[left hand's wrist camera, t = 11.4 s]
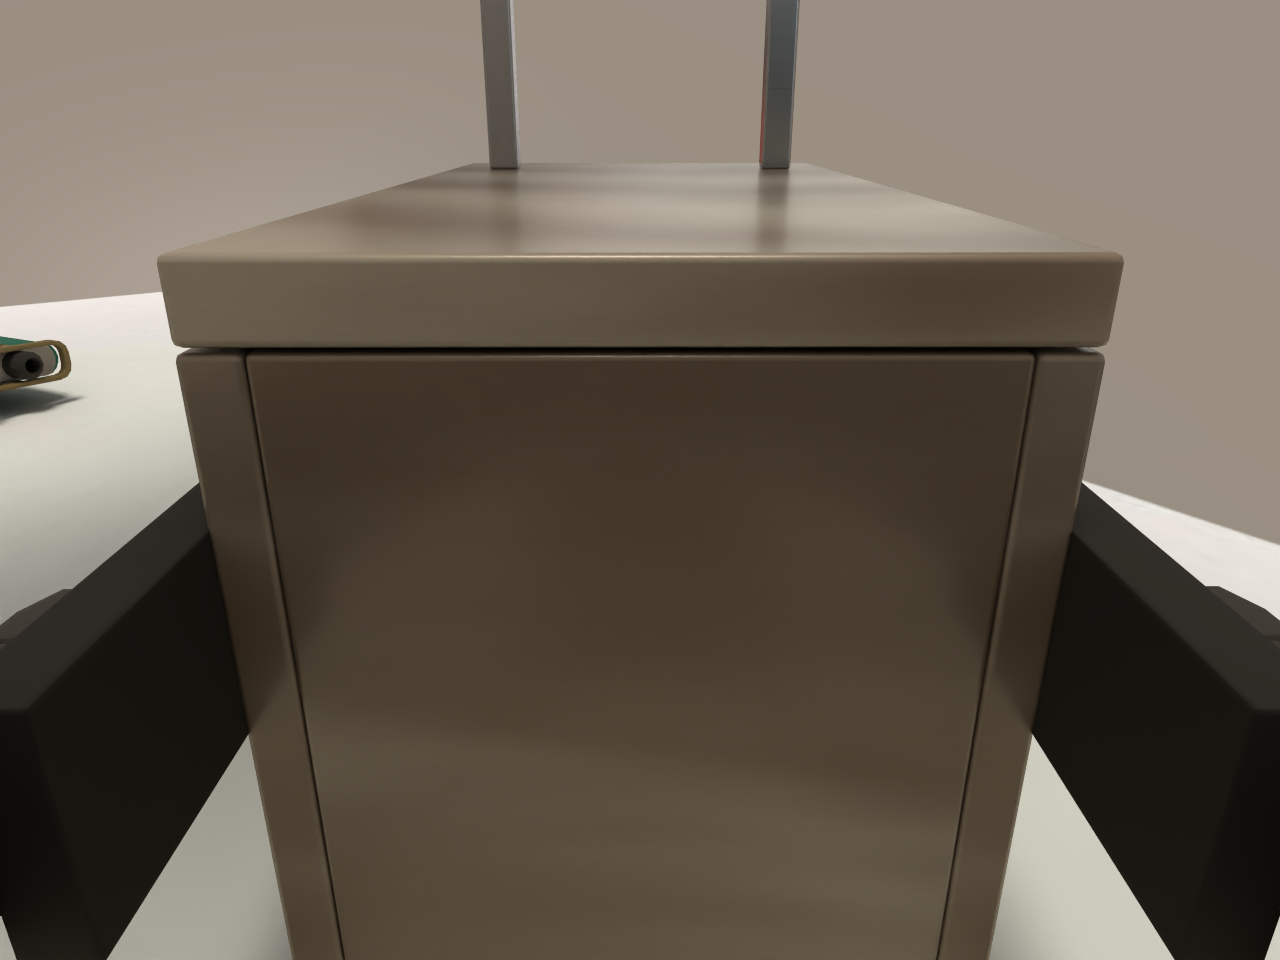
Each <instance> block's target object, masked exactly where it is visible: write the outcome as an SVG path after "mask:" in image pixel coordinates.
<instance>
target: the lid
mask: <svg viewBox="0 0 1280 960" xmlns="http://www.w3.org/2000/svg"><path fill="white" fill-rule="evenodd" d="M799 2H800V0H767V6H766V28H765V49H764V71H763V93H762V115H761V137H760V159H759V163H521V162H520V140H519V119H518V97H517V76H516V54H515V33H514V12H513V0H480V7H481V24H482V41H483V58H484V75H485V92H486V109H487V126H488V143H489V161H490V163H473V164H470V165H466V166H463V167H459V168H456V169H453V170H449V171H446V172H442V173H439V174H435V175H432V176H428V177H425V178H421V179H418V180H415V181H411V182H408V183H404V184H401V185H397V186H394V187H390V188H387V189H384V190H380V191H377V192H373V193H370V194H366V195H363V196H360V197H356V198H353V199H349V200H346V201H342V202H339V203H335V204H332V205H329V206H325V207H322V208H318V209H315V210H311V211H308V212H305V213H301V214H298V215H294V216H291V217H287V218H284V219H280V220H277V221H274V222H270V223H267V224H263V225H260V226H256V227H253V228H249V229H246V230H243V231H239V232H236V233H232V234H229V235H225V236H222V237H219V238H215V239H212V240H208V241H205V242H201V243H198V244H194V245H191V246H187V247H184V248H181V249H177V250H174V251H170V252H167V253H164V254H162V255H160V256H159V257H158V261H157V266H158V271H159V276H160V282H161V287H162V292H163V297H164V302H165V307H166V312H167V317H168V323H169V328H170V333H171V338H172V341H173V343H174V345H176V346H180V347H183V348H560V347H1100V346H1103V345H1106V344H1107V342H1108V340H1109V337H1110V332H1111V326H1112V321H1113V316H1114V311H1115V306H1116V301H1117V296H1118V291H1119V285H1120V280H1121V275H1122V270H1123V265H1124V261H1123V257H1122V255H1120V254H1118V253H1116V252H1112V251H1109V250H1105V249H1102V248H1098V247H1095V246H1092V245H1088V244H1085V243H1081V242H1078V241H1074V240H1071V239H1067V238H1064V237H1060V236H1057V235H1053V234H1050V233H1047V232H1043V231H1040V230H1036V229H1033V228H1029V227H1025V226H1022V225H1019V224H1015V223H1012V222H1008V221H1005V220H1001V219H998V218H995V217H991V216H987V215H984V214H981V213H977V212H974V211H970V210H967V209H963V208H960V207H956V206H953V205H949V204H946V203H943V202H939V201H936V200H932V199H929V198H925V197H922V196H918V195H915V194H911V193H908V192H904V191H901V190H897V189H894V188H891V187H887V186H884V185H880V184H877V183H873V182H870V181H866V180H863V179H859V178H856V177H852V176H849V175H845V174H842V173H839V172H835V171H832V170H828V169H825V168H821V167H818V166H814V165H811V164H807V163H790V158H791V141H792V123H793V106H794V88H795V71H796V54H797V37H798V19H799Z"/></svg>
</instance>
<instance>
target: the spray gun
mask: <svg viewBox="0 0 1280 960" xmlns="http://www.w3.org/2000/svg"><path fill="white" fill-rule="evenodd" d="M50 345H53V346H54V347H56V348H57V350H58V352H59V356H60V360H61V370H60V371H59V373H57V374H55V375H51V376H46V377H41V378H37V377H39V376H45V375H49V374H51V373H53V372H54V370H55V369H56V368H57V364H58V355H57V353H56V351H55V350H54V349H53V347H52V346H50ZM70 371H71V360H70V356H69V352H68V350H67V348H66V346H65V345H64V344H63V343H61V342H60V341H53V340H43V341H37V342H34V341H27V340H21V339H14V338H7V337H1V336H0V391H5V390H10V389H15V388H20V387H25V386H31V385H36V384H41V383H46V382H51V381H57V380H61V379H63V378H65V377H67V376H68V375H69V373H70ZM24 379H26V380H25V381H20V380H24Z"/></svg>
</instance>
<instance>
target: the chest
mask: <svg viewBox="0 0 1280 960" xmlns="http://www.w3.org/2000/svg"><path fill="white" fill-rule="evenodd" d="M1104 364H1105V360H1104V356H1103V354H1101V353H1099V352H1097V351H1095V350H1093V349H1091V348H1089V347H560V348H191V349H189V350H187V351H185V352H183V353H181V354H179V355H178V356H177V360H176V365H177V370H178V375H179V380H180V386H181V391H182V396H183V401H184V406H185V411H186V416H187V421H188V427H189V432H190V437H191V442H192V447H193V452H194V457H195V462H196V468H197V473H198V478H199V483H200V488H201V493H202V498H203V503H204V508H205V514H206V519H207V524H208V529H209V534H210V539H211V544H212V549H213V554H214V559H215V564H216V570H217V575H218V580H219V585H220V590H221V595H222V600H223V606H224V611H225V616H226V621H227V626H228V631H229V636H230V641H231V647H232V652H233V657H234V662H235V667H236V672H237V677H238V683H239V688H240V693H241V698H242V703H243V708H244V713H245V718H246V724H247V729H248V734H249V739H250V744H251V749H252V754H253V759H254V765H255V770H256V775H257V780H258V785H259V790H260V795H261V800H262V806H263V811H264V816H265V821H266V826H267V831H268V836H269V841H270V846H271V852H272V857H273V862H274V867H275V872H276V877H277V882H278V887H279V893H280V898H281V903H282V908H283V913H284V918H285V923H286V928H287V934H288V939H289V944H290V949H291V954H292V959H293V960H989V955H990V950H991V945H992V940H993V934H994V929H995V924H996V919H997V914H998V909H999V904H1000V898H1001V893H1002V888H1003V883H1004V878H1005V873H1006V868H1007V863H1008V857H1009V852H1010V847H1011V842H1012V837H1013V832H1014V827H1015V821H1016V816H1017V811H1018V806H1019V801H1020V796H1021V791H1022V785H1023V780H1024V775H1025V770H1026V765H1027V760H1028V755H1029V749H1030V744H1031V739H1032V733H1033V728H1034V723H1035V718H1036V713H1037V708H1038V703H1039V697H1040V692H1041V687H1042V682H1043V677H1044V672H1045V667H1046V661H1047V656H1048V651H1049V646H1050V641H1051V636H1052V631H1053V626H1054V620H1055V615H1056V610H1057V605H1058V600H1059V595H1060V590H1061V585H1062V579H1063V574H1064V569H1065V564H1066V559H1067V554H1068V549H1069V544H1070V538H1071V533H1072V529H1073V523H1074V518H1075V513H1076V508H1077V503H1078V498H1079V493H1080V487H1081V482H1082V477H1083V472H1084V467H1085V462H1086V456H1087V451H1088V446H1089V441H1090V436H1091V431H1092V426H1093V421H1094V415H1095V410H1096V405H1097V400H1098V395H1099V390H1100V385H1101V379H1102V374H1103V369H1104Z"/></svg>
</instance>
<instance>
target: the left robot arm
mask: <svg viewBox="0 0 1280 960" xmlns="http://www.w3.org/2000/svg"><path fill="white" fill-rule="evenodd" d="M1032 734H1033V735H1034V737H1035V739H1036V740H1037V742H1038V743H1039V745H1040V747H1041V748H1042V750H1043V751H1044V753H1045V755H1046V756H1047V758H1048V759H1049V761H1050V763H1051V764H1052V766H1053V767H1054V769H1055V770H1056V772H1057V774H1058V775H1059V777H1060V778H1061V780H1062V782H1063V783H1064V785H1065V786H1066V788H1067V790H1068V791H1069V793H1070V794H1071V796H1072V797H1073V799H1074V801H1075V802H1076V804H1077V805H1078V807H1079V809H1080V810H1081V812H1082V813H1083V815H1084V817H1085V818H1086V820H1087V821H1088V823H1089V824H1090V826H1091V828H1092V829H1093V831H1094V832H1095V834H1096V836H1097V837H1098V839H1099V840H1100V842H1101V844H1102V845H1103V847H1104V848H1105V850H1106V851H1107V853H1108V855H1109V856H1110V858H1111V859H1112V861H1113V863H1114V864H1115V866H1116V867H1117V869H1118V871H1119V872H1120V874H1121V875H1122V877H1123V878H1124V880H1125V882H1126V883H1127V885H1128V886H1129V888H1130V890H1131V891H1132V893H1133V894H1134V896H1135V898H1136V899H1137V901H1138V902H1139V904H1140V905H1141V907H1142V909H1143V910H1144V912H1145V913H1146V915H1147V917H1148V918H1149V920H1150V921H1151V923H1152V925H1153V926H1154V928H1155V929H1156V931H1157V932H1158V934H1159V936H1160V937H1161V939H1162V940H1163V942H1164V944H1165V945H1166V947H1167V948H1168V950H1169V952H1170V953H1171V955H1172V956H1173V958H1174V959H1175V960H1265V957H1266V954H1267V951H1268V948H1269V945H1270V943H1271V940H1272V937H1273V934H1274V931H1275V928H1276V925H1277V923H1278V920H1279V917H1280V620H1278V619H1277V618H1276V617H1275V616H1273V615H1272V614H1271V613H1270V612H1268V611H1267V610H1266V609H1264V608H1262V607H1260V606H1258V605H1256V604H1254V603H1252V602H1250V601H1248V600H1246V599H1244V598H1242V597H1240V596H1237V595H1235V594H1233V593H1231V592H1229V591H1227V590H1225V589H1223V588H1221V587H1219V586H1204V585H1203V584H1202V583H1201V582H1200V581H1199V580H1197V579H1196V578H1195V577H1194V576H1193V575H1191V574H1190V573H1189V572H1188V571H1187V570H1185V569H1184V568H1183V567H1182V566H1181V565H1179V564H1178V563H1177V562H1176V561H1175V560H1174V559H1172V558H1171V557H1170V556H1169V555H1168V554H1166V553H1165V552H1164V551H1163V550H1162V549H1160V548H1159V547H1158V546H1157V545H1156V544H1154V543H1153V542H1152V541H1151V540H1150V539H1149V538H1147V537H1146V536H1145V535H1144V534H1143V533H1141V532H1140V531H1139V530H1138V529H1137V528H1135V527H1134V526H1133V525H1132V524H1131V523H1129V522H1128V521H1127V520H1126V519H1125V518H1124V517H1122V516H1121V515H1120V514H1119V513H1118V512H1116V511H1115V510H1114V509H1113V508H1112V507H1110V506H1109V505H1108V504H1107V503H1106V502H1104V501H1103V500H1102V499H1101V498H1100V497H1099V496H1097V495H1096V494H1095V493H1094V492H1093V491H1091V490H1090V489H1089V488H1088V487H1087V486H1085V485H1084V484H1083V483H1082V482H1081V487H1080V493H1079V498H1078V503H1077V508H1076V513H1075V518H1074V523H1073V529H1072V533H1071V538H1070V544H1069V549H1068V554H1067V559H1066V564H1065V569H1064V574H1063V579H1062V585H1061V590H1060V595H1059V600H1058V605H1057V610H1056V615H1055V620H1054V626H1053V631H1052V636H1051V641H1050V646H1049V651H1048V656H1047V661H1046V667H1045V672H1044V677H1043V682H1042V687H1041V692H1040V697H1039V703H1038V708H1037V713H1036V718H1035V723H1034V728H1033V733H1032ZM247 736H248V729H247V724H246V718H245V713H244V708H243V703H242V698H241V693H240V688H239V683H238V677H237V672H236V667H235V662H234V657H233V652H232V647H231V641H230V636H229V631H228V626H227V621H226V616H225V611H224V606H223V600H222V595H221V590H220V585H219V580H218V575H217V570H216V564H215V559H214V554H213V549H212V544H211V539H210V534H209V529H208V524H207V519H206V514H205V508H204V503H203V498H202V493H201V488H200V483H198V484H197V485H196V486H194V487H193V488H192V489H191V490H190V491H189V492H187V493H186V494H185V495H184V496H183V497H181V498H180V499H179V500H178V501H177V502H175V503H174V504H173V505H172V506H171V507H169V508H168V509H167V510H166V511H165V512H164V513H162V514H161V515H160V516H159V517H158V518H156V519H155V520H154V521H153V522H152V523H150V524H149V525H148V526H147V527H146V528H145V529H143V530H142V531H141V532H140V533H139V534H137V535H136V536H135V537H134V538H133V539H131V540H130V541H129V542H128V543H127V544H125V545H124V546H123V547H122V548H121V549H120V550H118V551H117V552H116V553H115V554H114V555H112V556H111V557H110V558H109V559H108V560H106V561H105V562H104V563H103V564H102V565H100V566H99V567H98V568H97V569H96V570H95V571H93V572H92V573H91V574H90V575H89V576H87V577H86V578H85V579H84V580H83V581H81V582H80V583H79V584H78V585H77V586H75V587H74V588H73V589H63V590H61V591H59V592H57V593H55V594H53V595H51V596H49V597H47V598H45V599H43V600H41V601H39V602H37V603H35V604H33V605H31V606H29V607H27V608H25V609H22V610H20V611H18V612H17V613H15V614H14V615H13V616H12V617H10V618H9V619H8V620H7V621H5V622H4V623H3V624H2V625H0V916H2V919H3V922H4V925H5V927H6V930H7V933H8V936H9V939H10V942H11V944H12V947H13V950H14V953H15V956H16V959H17V960H107V958H108V956H109V955H110V953H111V952H112V950H113V948H114V947H115V945H116V944H117V942H118V941H119V939H120V937H121V936H122V934H123V933H124V931H125V929H126V928H127V926H128V925H129V923H130V921H131V920H132V918H133V917H134V915H135V914H136V912H137V910H138V909H139V907H140V906H141V904H142V902H143V901H144V899H145V898H146V896H147V894H148V893H149V891H150V890H151V888H152V886H153V885H154V883H155V882H156V880H157V879H158V877H159V875H160V874H161V872H162V871H163V869H164V867H165V866H166V864H167V863H168V861H169V859H170V858H171V856H172V855H173V853H174V852H175V850H176V848H177V847H178V845H179V844H180V842H181V840H182V839H183V837H184V836H185V834H186V832H187V831H188V829H189V828H190V826H191V825H192V823H193V821H194V820H195V818H196V817H197V815H198V813H199V812H200V810H201V809H202V807H203V805H204V804H205V802H206V801H207V799H208V797H209V796H210V794H211V793H212V791H213V790H214V788H215V786H216V785H217V783H218V782H219V780H220V778H221V777H222V775H223V774H224V772H225V770H226V769H227V767H228V766H229V764H230V763H231V761H232V759H233V758H234V756H235V755H236V753H237V751H238V750H239V748H240V747H241V745H242V743H243V742H244V740H245V739H246V737H247Z"/></svg>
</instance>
